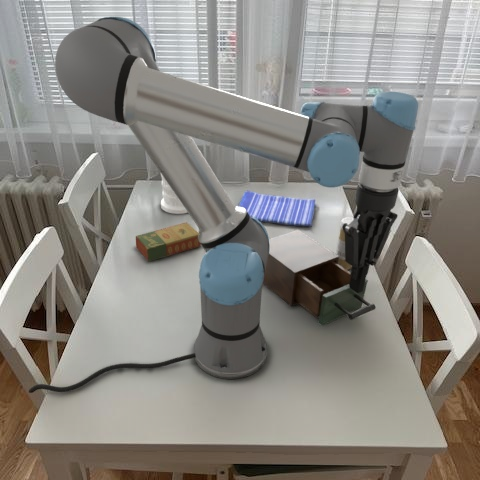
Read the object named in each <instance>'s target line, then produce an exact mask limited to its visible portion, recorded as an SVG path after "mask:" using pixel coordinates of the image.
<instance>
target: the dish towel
mask: <svg viewBox="0 0 480 480" xmlns="http://www.w3.org/2000/svg"><path fill="white" fill-rule="evenodd" d="M238 206H240V207H244V208H245V209H246V211H247V212H248V214H249V216H250V217H254V218H256V219H257V220H259V221H260V222H261V223H263V222H264V223H271V224H279V225H286V226H294V227H295V226H297V227H311V226H312V222H313V219H314V215H315V209H316V199H314V198H313V199H310V198H305V199H303V198H294V197H286V196H279V195H272V194H263V193H257V192H254V191H251V190H247V191H245V192H244V193H243V195H242V198H241V199H240V202H239V204H238Z"/></svg>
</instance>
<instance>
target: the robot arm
mask: <svg viewBox="0 0 480 480" xmlns="http://www.w3.org/2000/svg"><path fill="white" fill-rule="evenodd" d="M54 59H55V60H54V68H55V75H56V79H57V81H58V84H59V85H60V88H61V90H62V91H63V92H64V94H65V95H66V97H68V99H69V100H70V101H71V102H72V103H73V104H75V105H76V106H77V107H78V108H80V109H82V110H83V111H86V112H87V113H90V114H93V115H95V116H98V117H101V118H103V119H107V120H108V121H112V122H115V123H119V124H123V125H126V126H128V128H129V129H130V131H131V132H132V134H133V135H134V136H135V138H136V139H137V141H138V142H139V144H140V145H141V146H142V148H143V149H144V151H145V152H146V154H147V156H149V158H150V160H151V162H152V163H153V164H154V165H155V167H156V168H157V170H158V171H159V173H160V175H161V174H162V175H163V177H164V178H165V180H166V181H167V183H168V184H169V186H170V187H171V189H172V190H173V191H174V193H175V194H176V196H177V197H178V199H179V200H180V202H181V203H182V204H183V206H184V207H185V209H186V210H187V212H188V213H187V214H188V215H189V217H190V218H191V219H192V221H193V222H194V224H195V225H196V226H197V228H198V233H199V234H198V241H199V242H200V244H201V247H202V248H203V249H204V251H205V254H204V255H203V257H202V258H201V261H200V263H199V264H200V265H199V271H198V279H199V287H200V288H199V290H200V310H201V311H200V312H201V326H200V328H199V331H198V335H197V337H196V339H195V342H194V344H193V353H189V354H186V355H182V356H177V357H175V358H170V359H167V360H164V361H160V362H156V363H132V362H131V363H129V362H126V363H115V364H112V365H108V366H105V367H103V368H101V369H99V370H96V371H95V372H94V373H92V374H90V375H89V376H87V377H86V378H84V379H82V380H80V381H79V382H76V383H74V384H72V385H68V386H54V385H50V384H45V383H39V384H36V385H33V386H32V387H31V388H29V390H28V393H29V394H32V393H35V392H36V391H38V390H46V391H50V392H56V393H67V392H71V391H74V390H77V389H79V388H82V387H83V386H85V385H87V384H89V383H90V382H91V381H93V380H94V379H96V378H98V377H99V376H101V375H103V374H105V373H108V372H110V371H114V370H120V369H156V368H157V369H158V368H162V367H167V366H170V365H172V364H176V363H180V362H183V361H187V360H191V359H194V360H195V363H196V364H197V366H198V367H199V368H200V369H201V370H202V371H203V372H205V373H206V374H208V375H210V376H212V377H215V378H220V379H223V380H237V379H242V378H246V377H249V376H251V375H253V374H255V373H257V372H258V371H259V370H260V369H262V367H263V366H264V364H265V363H266V360H267V355H268V345H267V342H266V339H265V335H264V333H263V330H262V328H261V310H262V309H261V308H262V295H263V286H264V284H263V281H264V275H265V270H266V265H267V260H268V255H269V250H270V244H269V239H270V237H269V234H268V231H267V229H266V227H265V226H264V224H263V222H260V221H259V220H257V219H256V218H254V217H250V216H249V214H248V212H247V211H246V209H245V208H244V207H240V206H239V205H235V204H234V203H233V201H232V199H231V197H230V196H229V194H228V192H227V191H226V190H225V188H224V186H223V185H222V184H221V182H220V180H219V179H218V177H217V175H216V173H215V172H214V171H213V169H212V167H211V166H210V163H209V162H208V161H207V159H206V158H205V156H204V154H203V152H202V151H201V150H200V148H199V147H198V145H197V143H196V142H195V140H194V139H198V140H201V141H203V142H207V143H211V144H214V145H217V146H221V147H224V148H228V149H230V150H234V151H237V152H240V153H243V154H247V155H251V156H253V157H257V158H262V159H265V160H269V161H271V162H275V163H278V164H282V165H285V166H289V167H290V168H294V169H297V170H300V171H301V170H302V171H304V172H307V173H309V174H310V176H311V178H312V179H313V181H314V182H316V183H317V184H318V185H320V186H321V187H325V188H338V187H341V186H344V185H346V184H348V182H350V181H351V180H352V179H353V178H354V177H355V175H356V174H357V172H358V170H359V174H358V183H357V185H356V192H355V196H354V202H355V205H356V211H354V214H353V218H354V220H353V221H352V222H351V223H350V224H347V223H345V224H344V225H343V226H342V228H343V230H344V233H345V261H346V262H347V263H348V264H350V265H351V268H350V272H351V274H350V277H351V279H350V284H349V287H350V288H351V289H352V290H354V291H355V292H357V293H360V292H362V291H363V288H364V284H365V279H366V280H367V276H368V275H369V270H370V267H373V266H375V264H376V262H375V261H374V260H377V259H379V258H380V256H381V254H382V251H383V248H384V246H385V244H386V241H387V239H388V236H389V235H390V232H391V229H392V226H393V225H394V224H395V222H396V220H397V219H398V216H399V215H398V214H397V213H396V212H393V211H392V210H393V209H394V208H395V206H396V203H397V199H398V195H399V192H400V191H399V190H400V189H399V187H400V185H401V183H402V182H401V181H402V178H403V173H404V168H405V165H406V161H407V157H408V153H409V149H410V146H411V143H412V138H413V134H414V131H415V129H416V123H417V122H416V121H417V117H418V111H419V101H418V100H417V98H416V97H414V96H413V95H412V94H408V93H406V92H405V93H404V92H399V91H382V92H378V93H377V94H375V96H374V97H373V100H372V102H371V105H367V104H366V105H359V104H346V103H331V102H325V101H320V102H310V101H309V102H305V103H304V104H303V105H302V106H301V109H300V113H297V112H294V111H290V110H287V109H284V108H281V107H277V106H273V105H271V104H267V103H265V102H261V101H258V100H254V99H251V98H247V97H245V96H241V95H238V94H235V93H231V92H228V91H225V90H221V89H219V88H215V87H212V86H209V85H206V84H203V83H199V82H196V81H192V80H190V79H186V78H182V77H180V76H176V75H173V74H170V73H166V72H163V71H162V70H161V69H160V67H159V66H158V64H157V55H156V50H155V45H154V43H153V41H152V38H151V37H150V35H149V34H148V33H147V32H146V30H145V29H144V28H143V27H142V26H141V25H140V24H138V23H137V22H135V21H133V20H132V19H129V18H126V17H122V16H104V17H100V18H98V19H97V20H95V21H92V22H91V23H88V24H86V25H85V26H82V27H79V28H76V29H74V30H72V31H70V32H69V33H68V34H67V35H65V36H64V37H63V39H61V42H60V44H59V45H58V47H57V49H56V54H55V58H54ZM361 153H363V155H362V159H361V164H360V154H361ZM359 166H360V168H359Z"/></svg>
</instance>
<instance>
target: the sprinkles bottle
mask: <svg viewBox="0 0 480 480" xmlns="http://www.w3.org/2000/svg"><path fill="white" fill-rule="evenodd" d="M353 220H354V217H343V218H342V219H341V220H340V225H339V228H340V229H339V235H338V240H337V241H338V242H337V246H336V253H335V254H337V255H338V256H339V261H338V264H339V265H340V266H342V267H343V268H345V269H346V270H348V271H349V270H351V269H352V266H351V265H350V264H348V263H347V262H346V261H345V233H344V230H343V228H342V226H343V225H344V224H345V223H347V224H350V223H351V222H352V221H353Z"/></svg>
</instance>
